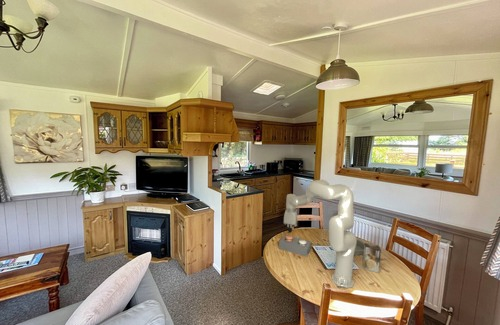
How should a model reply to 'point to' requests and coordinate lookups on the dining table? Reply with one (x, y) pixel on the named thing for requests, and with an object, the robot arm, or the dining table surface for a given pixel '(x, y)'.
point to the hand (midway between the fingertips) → (289, 232)
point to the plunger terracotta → (289, 238)
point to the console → (295, 246)
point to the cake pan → (359, 248)
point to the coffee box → (371, 257)
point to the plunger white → (302, 242)
